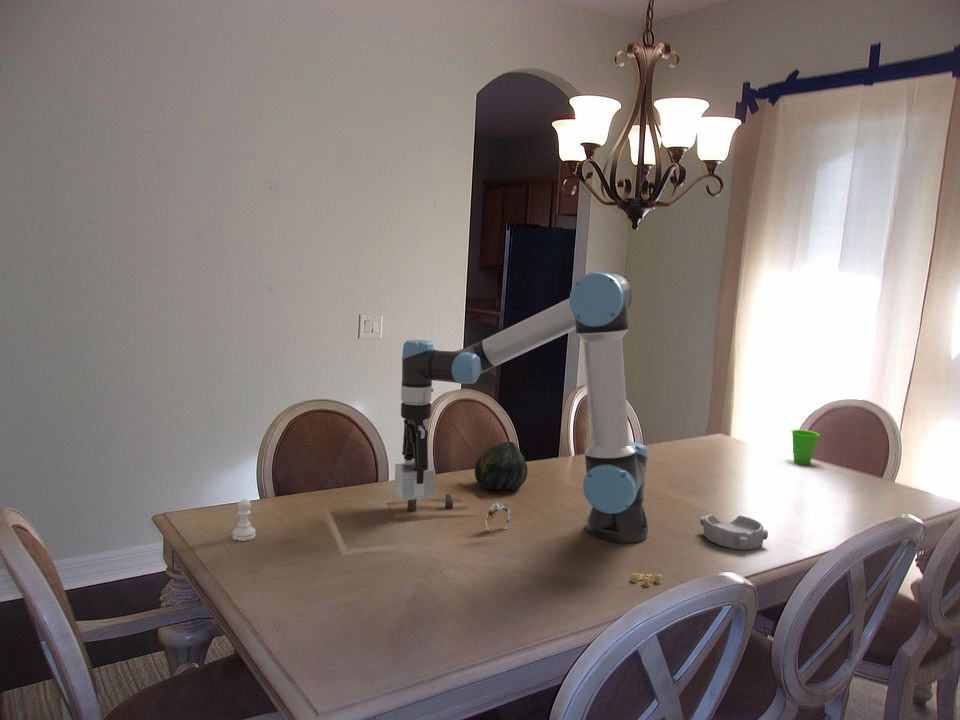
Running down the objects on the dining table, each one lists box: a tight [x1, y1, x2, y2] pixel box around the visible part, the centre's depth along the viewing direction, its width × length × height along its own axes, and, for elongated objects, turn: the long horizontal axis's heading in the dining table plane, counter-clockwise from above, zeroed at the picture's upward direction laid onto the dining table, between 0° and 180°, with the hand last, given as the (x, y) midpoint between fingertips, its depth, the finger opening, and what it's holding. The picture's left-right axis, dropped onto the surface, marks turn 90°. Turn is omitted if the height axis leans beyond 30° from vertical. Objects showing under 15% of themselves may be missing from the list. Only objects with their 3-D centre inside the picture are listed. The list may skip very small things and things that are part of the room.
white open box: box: [394, 462, 435, 501], centre depth 184 cm, size 8×8×7 cm
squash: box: [474, 441, 529, 492], centre depth 210 cm, size 14×15×15 cm
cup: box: [790, 429, 820, 466], centre depth 256 cm, size 9×9×11 cm
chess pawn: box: [232, 499, 257, 541], centre depth 165 cm, size 5×5×9 cm
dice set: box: [630, 573, 663, 587], centre depth 154 cm, size 5×5×2 cm
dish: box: [699, 513, 769, 551], centre depth 179 cm, size 14×14×5 cm
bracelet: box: [485, 501, 512, 533], centre depth 175 cm, size 7×3×8 cm, turn 121°
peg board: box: [386, 493, 477, 523], centre depth 187 cm, size 14×20×6 cm
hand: (413, 489), depth 184 cm, fingers closed on white open box, 8 cm apart
